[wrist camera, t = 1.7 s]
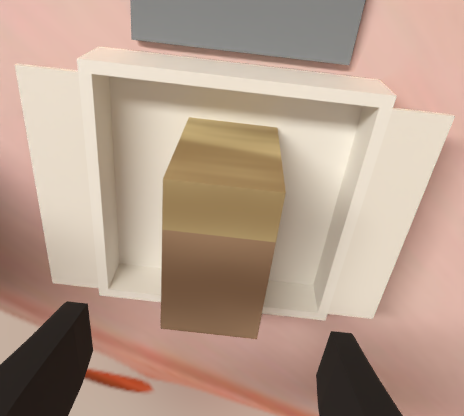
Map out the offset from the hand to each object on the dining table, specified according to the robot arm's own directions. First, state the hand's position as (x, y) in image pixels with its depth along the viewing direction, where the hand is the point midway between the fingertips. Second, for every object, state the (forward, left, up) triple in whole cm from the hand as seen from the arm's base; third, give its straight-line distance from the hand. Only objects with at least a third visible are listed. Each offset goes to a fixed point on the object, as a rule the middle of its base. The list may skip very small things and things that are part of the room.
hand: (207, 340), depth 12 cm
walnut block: (0, 0, -9) cm, 9 cm away
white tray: (0, 0, -10) cm, 10 cm away
